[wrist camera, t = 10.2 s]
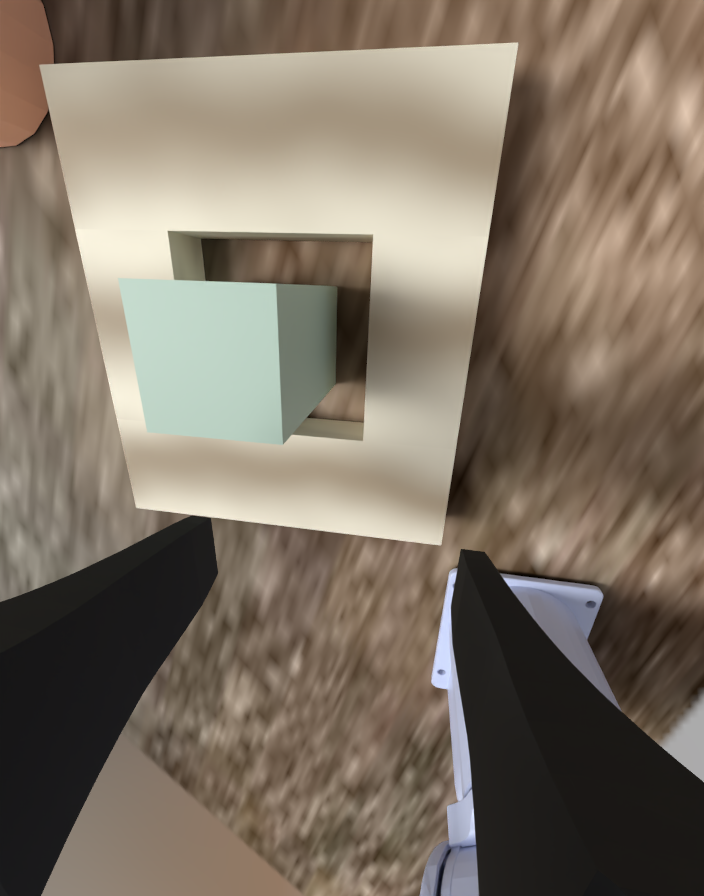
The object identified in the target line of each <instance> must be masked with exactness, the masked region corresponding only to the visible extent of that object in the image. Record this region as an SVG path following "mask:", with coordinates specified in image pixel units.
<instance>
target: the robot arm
mask: <svg viewBox="0 0 704 896" xmlns="http://www.w3.org/2000/svg"><path fill="white" fill-rule="evenodd" d="M217 574H218V569H217V561H216V554H215V546H214V538H213V531H212V523H211V518H207V517H199V516H190V517H187V518H185V519H183V520H181V521H179V522H177V523H174V524H172V525H170V526H169V527H167V528H165V529H163V530H161V531H159V532H157V533H155V534H153V535H151V536H149V537H147V538H145V539H143V540H141V541H139V542H137V543H136V544H134V545H132V546H130V547H128V548H126V549H124V550H122V551H120V552H118V553H116V554H114V555H112V556H110V557H107V558H105V559H103V560H101V561H99V562H97V563H95V564H93V565H91V566H89V567H86V568H84V569H82V570H80V571H78V572H76V573H74V574H71V575H69V576H67V577H64V578H62V579H60V580H57V581H55V582H53V583H50V584H48V585H45V586H43V587H40V588H38V589H35V590H33V591H30V592H28V593H25V594H22V595H20V596H17V597H14V598H11V599H8V600H5V601H2V602H0V896H41V894H42V892H43V890H44V888H45V886H46V883H47V881H48V879H49V877H50V875H51V872H52V870H53V868H54V866H55V864H56V862H57V859H58V857H59V855H60V853H61V851H62V849H63V847H64V844H65V842H66V840H67V838H68V836H69V834H70V832H71V830H72V827H73V826H74V824H75V821H76V819H77V817H78V815H79V813H80V811H81V809H82V807H83V805H84V803H85V801H86V799H87V797H88V795H89V793H90V791H91V789H92V787H93V785H94V783H95V781H96V779H97V777H98V775H99V773H100V771H101V770H102V768H103V766H104V763H105V762H106V760H107V758H108V756H109V754H110V752H111V751H112V749H113V747H114V745H115V743H116V741H117V739H118V737H119V735H120V734H121V732H122V730H123V728H124V726H125V725H126V723H127V721H128V719H129V717H130V716H131V714H132V712H133V710H134V708H135V707H136V705H137V703H138V701H139V700H140V698H141V696H142V694H143V693H144V691H145V690H146V688H147V686H148V685H149V683H150V682H151V680H152V678H153V677H154V675H155V674H156V672H157V671H158V669H159V668H160V667H161V665H162V664H163V662H164V661H165V659H166V658H167V656H168V655H169V653H170V652H171V650H172V649H173V647H174V646H175V645H176V643H177V642H178V640H179V639H180V637H181V636H182V634H183V633H184V631H185V630H186V628H187V627H188V625H189V624H190V622H191V621H192V619H193V618H194V616H195V615H196V613H197V612H198V610H199V609H200V607H201V606H202V604H203V602H204V600H205V598H206V597H207V595H208V593H209V591H210V589H211V587H212V585H213V583H214V581H215V579H216V576H217ZM454 583H455V585H454ZM602 600H603V593H602V592H601V590H600V588H598V587H597V586H593V585H586V584H578V583H570V582H563V581H555V580H547V579H540V578H532V577H524V576H517V575H509V574H501V573H499V572H498V570H497V569H496V567H495V566H494V564H493V563H492V562H491V560H490V559H489V557H488V556H487V555H486V553H485V552H481V551H473V550H465V549H461V552H460V557H459V563H458V568H455V569H452V570H451V571H450V573H449V576H448V582H447V588H446V594H445V600H444V606H443V612H442V618H441V624H440V629H439V635H438V641H437V647H436V653H435V659H434V665H433V671H432V684H433V685H434V686H435V687H438V688H443V689H448V700H449V713H450V726H451V740H452V753H453V766H454V779H455V788H456V794H457V799H458V802H457V803H454V804H450V805H448V806H447V814H448V830H449V840H448V841H444V842H441V843H440V844H439V845H437V846H436V847H435V848H434V850H433V851H432V853H431V855H430V856H429V859H428V862H427V865H426V867H425V871H424V876H423V880H422V885H421V892H420V896H704V782H703V781H702V780H700V779H699V778H698V777H697V776H695V775H694V774H693V773H692V772H691V771H689V770H688V769H687V768H686V767H684V766H683V765H682V764H681V763H679V762H678V761H677V760H676V759H675V758H674V757H672V756H671V755H670V754H669V753H668V752H667V751H665V750H664V749H663V748H662V747H661V746H659V745H658V744H657V743H656V742H655V741H654V740H652V739H651V738H650V737H649V736H648V735H647V734H646V733H645V732H643V731H642V730H641V729H640V728H639V727H638V726H637V725H636V724H635V723H634V722H632V721H631V720H630V719H629V718H628V717H627V716H626V715H625V714H624V713H622V711H621V709H620V707H619V705H618V703H617V701H616V699H615V697H614V695H613V693H612V691H611V689H610V687H609V684H608V682H607V680H606V678H605V676H604V674H603V672H602V670H601V668H600V666H599V664H598V662H597V660H596V658H595V656H594V654H593V652H592V649H591V647H590V645H589V643H588V641H587V639H588V636H589V634H590V631H591V629H592V626H593V623H594V621H595V618H596V615H597V613H598V610H599V608H600V605H601V602H602ZM588 601H592V602H590V603H587V602H588Z"/></svg>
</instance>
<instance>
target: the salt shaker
mask: <svg viewBox="0 0 704 896" xmlns="http://www.w3.org/2000/svg"><path fill="white" fill-rule="evenodd" d="M42 64H54V51H53V42H52V38H51V34H50V30H49V26H48V22H47V17H46V13H45V9H44V5H43V3H42V1H41V0H0V147H8V146H16V145H18V144H19V143H21V142H22V141H24V140H25V139H27V138H28V137H30V136H31V135H33V134H34V133H35V132H36V130H37V129H38V127H39V125H40V124H41V122H42V120H43V119H44V117H45V115H46V114H47V112H48V109H49V107H48V103H47V98H46V94H45V89H44V84H43V80H42V75H41V71H40V66H39V65H42Z"/></svg>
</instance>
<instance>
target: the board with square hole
mask: <svg viewBox="0 0 704 896" xmlns="http://www.w3.org/2000/svg"><path fill="white" fill-rule="evenodd" d="M517 49H518V43H500V44H478V45H456V46H435V47H413V48H391V49H369V50H348V51H326V52H304V53H282V54H260V55H239V56H217V57H195V58H173V59H151V60H130V61H108V62H86V63H64V64H42V65H39V66H40V71H41V75H42V80H43V84H44V89H45V94H46V98H47V103H48V107H49V112H50V116H51V121H52V126H53V130H54V135H55V139H56V144H57V148H58V153H59V157H60V162H61V167H62V171H63V176H64V180H65V185H66V189H67V194H68V198H69V203H70V208H71V212H72V217H73V221H74V226H75V230H76V235H77V240H78V244H79V249H80V253H81V258H82V262H83V267H84V271H85V276H86V281H87V285H88V290H89V294H90V299H91V303H92V308H93V312H94V317H95V322H96V326H97V331H98V335H99V340H100V344H101V349H102V354H103V358H104V363H105V367H106V372H107V376H108V381H109V385H110V390H111V395H112V399H113V404H114V408H115V413H116V417H117V422H118V426H119V431H120V436H121V440H122V445H123V449H124V454H125V458H126V463H127V468H128V472H129V477H130V481H131V486H132V490H133V495H134V499H135V504H136V508H143V509H151V510H159V511H167V512H175V513H183V514H191V515H199V516H207V517H215V518H223V519H231V520H240V521H248V522H256V523H264V524H272V525H280V526H288V527H296V528H304V529H312V530H320V531H329V532H337V533H345V534H353V535H361V536H369V537H377V538H385V539H393V540H401V541H409V542H417V543H426V544H434V545H441V543H442V536H443V530H444V523H445V517H446V510H447V504H448V497H449V491H450V484H451V478H452V471H453V465H454V458H455V452H456V445H457V439H458V432H459V426H460V419H461V413H462V406H463V400H464V393H465V387H466V380H467V374H468V367H469V361H470V354H471V348H472V341H473V335H474V328H475V322H476V315H477V309H478V302H479V296H480V289H481V283H482V276H483V270H484V263H485V257H486V250H487V244H488V237H489V231H490V224H491V218H492V211H493V205H494V198H495V192H496V185H497V179H498V172H499V166H500V159H501V153H502V146H503V140H504V133H505V127H506V120H507V114H508V107H509V101H510V94H511V88H512V81H513V75H514V68H515V62H516V55H517ZM201 239H241V240H288V241H335V242H373V251H372V271H371V291H370V311H369V332H368V352H367V372H366V393H365V413H364V422H352V421H340V420H328V419H316V418H306V419H305V420H304V421H303V422H302V423H301V425H300V426H299V427H298V428H297V429H296V430H295V432H294V433H293V434H292V435H291V436H290V437H289V438H288V440H287V441H286V442H285V443H284V444H283V445H277V444H267V443H256V442H245V441H235V440H224V439H213V438H203V437H192V436H181V435H171V434H160V433H149V432H147V428H146V423H145V418H144V413H143V407H142V402H141V397H140V392H139V386H138V381H137V376H136V371H135V365H134V360H133V355H132V350H131V344H130V339H129V334H128V329H127V323H126V318H125V313H124V308H123V302H122V297H121V292H120V287H119V281H118V278H130V279H158V280H186V281H206V280H205V271H204V261H203V252H202V243H201Z"/></svg>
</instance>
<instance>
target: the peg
mask: <svg viewBox="0 0 704 896" xmlns="http://www.w3.org/2000/svg"><path fill="white" fill-rule="evenodd" d="M118 281H119V287H120V292H121V297H122V302H123V308H124V313H125V318H126V323H127V329H128V334H129V339H130V344H131V350H132V355H133V360H134V365H135V371H136V376H137V381H138V386H139V392H140V397H141V402H142V407H143V413H144V418H145V423H146V428H147V432H149V433H160V434H171V435H181V436H192V437H203V438H213V439H224V440H235V441H245V442H256V443H267V444H277V445H283V444H284V443H285V442H286V441H287V440H288V438H289V437H290V436H291V435H292V434H293V433H294V432H295V430H296V429H297V428H298V427H299V426H300V425H301V423H302V422H303V421H304V420H305V419H306V418H307V417H308V415H309V414H310V413H311V412H312V411H313V410H314V408H315V407H316V406H317V405H318V404H319V403H320V402H321V400H322V399H323V398H324V397H325V396H326V395H327V393H328V392H329V391H330V390H331V389H332V388H333V387H334V385H335V384H336V336H337V286H318V285H295V284H272V283H243V282H215V281H186V280H158V279H130V278H118Z"/></svg>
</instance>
